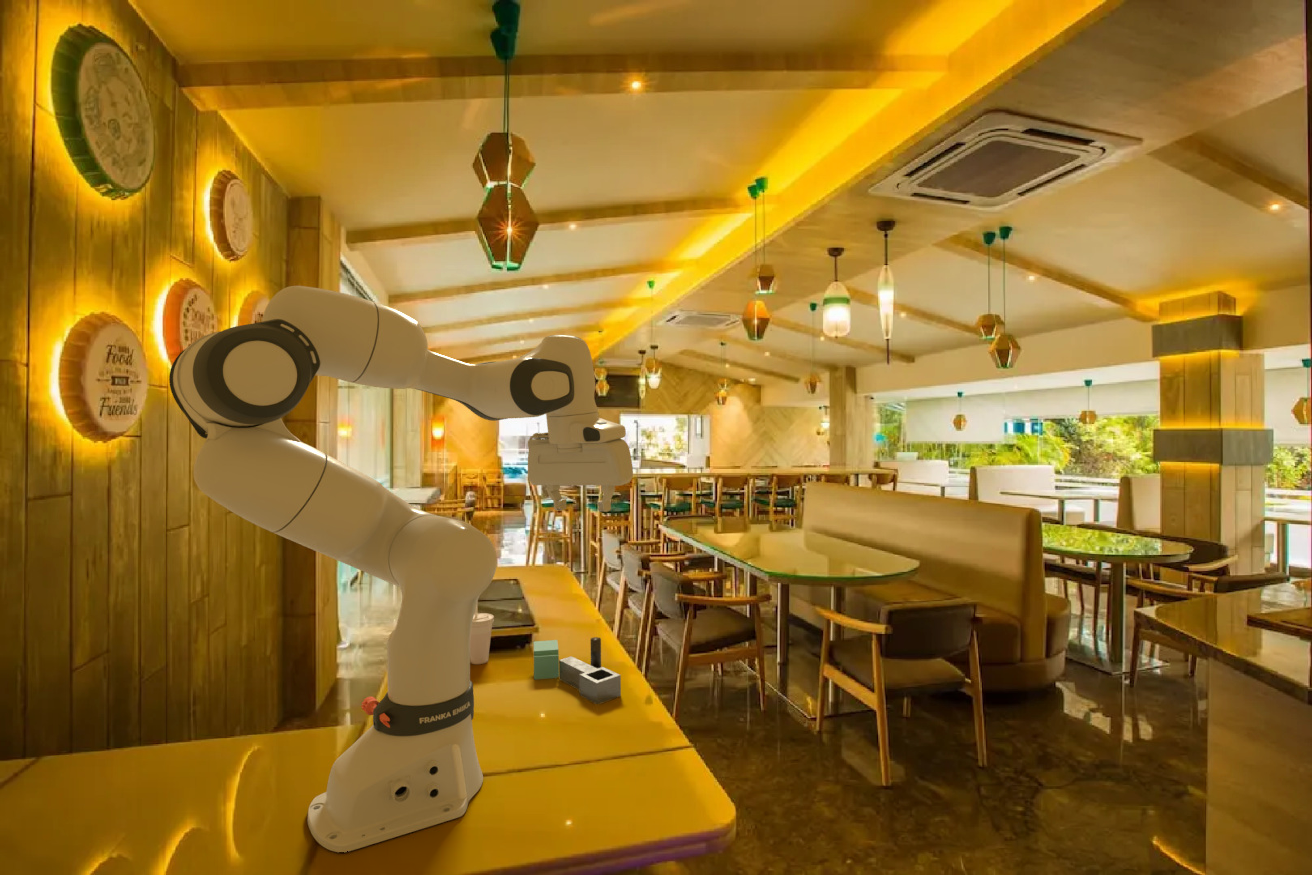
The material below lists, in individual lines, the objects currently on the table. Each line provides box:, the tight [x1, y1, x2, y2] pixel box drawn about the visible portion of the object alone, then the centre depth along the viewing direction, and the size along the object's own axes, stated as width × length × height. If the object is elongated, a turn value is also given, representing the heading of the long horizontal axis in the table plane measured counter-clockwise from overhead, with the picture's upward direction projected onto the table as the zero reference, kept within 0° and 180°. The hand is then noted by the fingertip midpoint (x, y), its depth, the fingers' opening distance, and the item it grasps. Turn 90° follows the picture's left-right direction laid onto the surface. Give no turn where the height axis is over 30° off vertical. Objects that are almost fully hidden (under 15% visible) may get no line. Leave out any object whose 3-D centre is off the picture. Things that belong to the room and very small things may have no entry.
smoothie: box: [470, 604, 495, 665], centre depth 139 cm, size 6×6×14 cm
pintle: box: [590, 636, 602, 669], centre depth 135 cm, size 2×2×6 cm
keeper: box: [533, 639, 560, 680], centre depth 132 cm, size 5×7×5 cm
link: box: [559, 655, 622, 705], centre depth 124 cm, size 15×6×4 cm, turn 42°
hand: (582, 510), depth 109 cm, fingers open, 8 cm apart
